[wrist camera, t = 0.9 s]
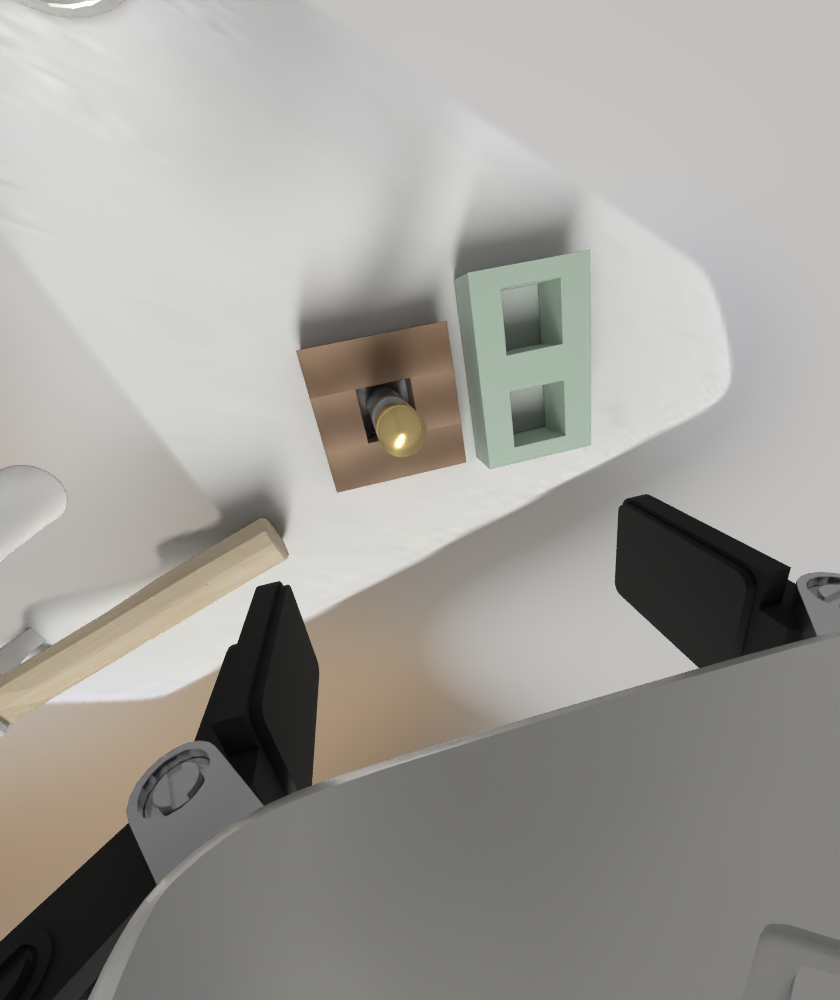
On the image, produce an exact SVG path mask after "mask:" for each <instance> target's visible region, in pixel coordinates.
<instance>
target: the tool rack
mask: <svg viewBox="0 0 840 1000" xmlns="http://www.w3.org/2000/svg"><path fill="white" fill-rule="evenodd" d="M454 284H455V291H456V299H457V307H458V315H459V323H460V330H461V338H462V346H463V354H464V362H465V370H466V377H467V385H468V393H469V401H470V409H471V416H472V424H473V432H474V440H475V448H476V455H477V458H478V459H479V460H480V461H482V462H483V463H484V464H485V465H486V466H487V467H488V468H489V469H493V468H497V467H501V466H505V465H510V464H514V463H518V462H522V461H526V460H531V459H535V458H539V457H543V456H547V455H552V454H556V453H560V452H564V451H568V450H573V449H577V448H581V447H585V446H589V445H591V358H590V250H586V251H581V252H575V253H570V254H565V255H559V256H554V257H549V258H543V259H538V260H533V261H527V262H522V263H517V264H511V265H506V266H501V267H495V268H490V269H485V270H479V271H474V272H469V273H466V274H464V275H462V276H460V277H459V278H457V279H455V280H454ZM533 284H538V293H539V313H540V332H541V344H536V345H531V346H527V347H522V348H517V349H512V350H508V351H506V344H505V332H504V320H503V309H502V297H501V291H502V290H508V289H513V288H518V287H523V286H528V285H533ZM540 385H543V389H544V408H545V427H543V428H538V429H534V430H530V431H525V432H521V433H517V434H513V425H512V413H511V401H510V392H513V391H518V390H522V389H527V388H531V387H536V386H540Z"/></svg>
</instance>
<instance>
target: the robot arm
mask: <svg viewBox="0 0 840 1000" xmlns="http://www.w3.org/2000/svg"><path fill="white" fill-rule="evenodd" d="M16 1H18V2H20V3H21V4H23V5H25V6H28V7H31V8H33V9H36V10H38V11H41V12H43V13H46V14H50V15H55V16H61V17H66V18H84V17H93V16H96V15H99V14H102V13H105V12H108V11H110V10H112V9H113V8H115V7H116V6H117V5H119V4H120V3H122V2H123V1H125V0H16ZM790 568H791V567H789V566H787V565H785V564H783V563H781V562H779V561H777V560H775V559H773V558H771V557H769V556H767V555H765V554H763V553H761V552H759V551H757V550H756V549H754V548H752V547H750V546H748V545H746V544H744V543H742V542H740V541H738V540H736V539H734V538H732V537H730V536H728V535H726V534H724V533H722V532H720V531H719V530H717V529H715V528H712V527H711V526H709V525H707V524H705V523H703V522H701V521H699V520H697V519H695V518H693V517H691V516H689V515H687V514H685V513H683V512H682V511H680V510H678V509H676V508H674V507H672V506H670V505H668V504H666V503H664V502H662V501H660V500H658V499H656V498H654V497H652V496H650V495H647V494H646V495H641V496H636V497H632V498H628V499H626V500H625V501H624V502H623V505H621V506H620V507H619V511H618V530H617V550H616V572H615V586H616V589H617V591H618V593H619V594H620V595H621V596H622V597H623V598H624V599H625V600H626V601H627V602H629V603H630V604H631V605H632V606H633V607H634V608H635V609H636V610H637V611H638V612H639V613H640V614H642V615H643V616H644V617H645V618H646V619H647V620H648V621H649V622H650V623H651V624H652V625H653V626H654V627H656V628H657V629H658V630H659V631H660V632H661V633H662V634H663V635H664V636H665V637H666V638H667V639H669V641H671V642H672V643H673V644H674V645H675V646H676V647H677V648H678V649H679V650H680V651H681V652H682V653H683V654H685V655H686V656H687V657H688V658H689V659H690V660H691V661H692V662H693V663H694V664H695V665H696V666H698V667H699V669H696V670H692V671H688V672H685V673H681V674H678V675H675V676H671V677H667V678H664V679H660V680H657V681H653V682H650V683H646V684H643V685H640V686H636V687H633V688H630V689H626V690H623V691H619V692H615V693H612V694H609V695H605V696H602V697H598V698H595V699H592V700H588V701H584V702H581V703H578V704H574V705H571V706H568V707H564V708H561V709H557V710H554V711H550V712H547V713H544V714H540V715H537V716H533V717H530V718H526V719H523V720H520V721H516V722H513V723H509V724H506V725H503V726H499V727H496V728H493V729H490V730H486V731H483V732H480V733H476V734H473V735H469V736H466V737H463V738H459V739H456V740H453V741H449V742H446V743H442V744H439V745H436V746H432V747H429V748H426V749H422V750H419V751H416V752H412V753H409V754H406V755H403V756H400V757H396V758H394V759H390V760H387V761H384V762H381V763H377V764H374V765H371V766H368V767H365V768H362V769H359V770H355V771H352V772H349V773H346V774H343V775H340V776H336V777H334V778H331V779H328V780H326V781H323V782H320V783H318V784H315V785H312V775H313V759H314V743H315V727H316V713H317V698H318V683H319V667H318V662H317V658H316V656H315V653H314V651H313V647H312V645H311V642H310V639H309V636H308V633H307V631H306V628H305V625H304V622H303V619H302V617H301V614H300V611H299V608H298V606H297V603H296V600H295V597H294V594H293V592H292V589H291V587H290V585H285V586H283V584H282V583H281V582H280V581H278V582H274V583H270V584H266V585H261V586H258V587H257V588H256V590H255V593H254V596H253V599H252V602H251V605H250V608H249V611H248V614H247V616H246V619H245V622H244V625H243V628H242V631H241V634H240V637H239V640H238V643H237V644H234V645H232V646H230V647H229V649H228V651H227V653H226V655H225V658H224V661H223V664H222V666H221V669H220V672H219V675H218V677H217V680H216V683H215V686H214V689H213V691H212V694H211V697H210V699H209V702H208V705H207V708H206V710H205V713H204V716H203V719H202V721H201V724H200V727H199V730H198V733H197V735H196V738H195V741H194V742H189V743H186V744H183V745H181V746H179V747H177V748H175V749H173V750H171V751H170V752H168V753H167V754H165V755H164V756H162V757H161V758H160V759H158V761H156V762H155V763H154V764H153V765H152V766H151V767H150V768H149V769H148V770H147V771H146V772H145V773H144V775H143V776H142V777H141V779H140V780H139V781H138V782H137V784H136V786H135V788H134V790H133V791H132V793H131V795H130V797H129V801H128V805H127V810H126V812H127V818H128V822H129V823H128V824H127V825H126V826H125V827H124V828H123V829H122V830H120V831H119V832H118V833H117V834H116V835H115V836H114V837H113V838H112V839H111V840H110V841H108V843H106V844H105V845H104V846H103V847H102V848H101V849H100V850H99V851H98V852H97V853H96V854H94V855H93V856H92V857H91V858H90V859H89V860H88V861H87V862H86V863H85V864H84V865H83V866H81V868H79V869H78V870H77V871H76V872H75V873H74V874H73V875H72V876H71V877H70V878H68V879H67V880H66V881H65V882H64V883H63V884H62V885H61V886H60V887H59V888H58V889H57V890H56V891H55V892H53V893H52V894H51V895H50V896H49V897H48V898H47V899H46V900H45V901H44V902H43V903H41V904H40V905H39V906H38V907H37V908H36V909H35V910H34V911H33V912H32V913H31V914H30V915H29V916H27V918H25V919H24V920H23V921H22V922H21V923H20V924H19V925H18V926H17V927H16V928H14V929H13V930H12V931H11V932H10V933H9V934H8V935H7V936H6V937H5V938H4V939H3V940H2V941H0V1000H840V574H836V573H826V572H817V573H808V574H805V575H803V576H801V577H800V578H799V579H798V580H797V582H796V584H795V583H793V582H791V581H789V580H788V576H789V572H790Z"/></svg>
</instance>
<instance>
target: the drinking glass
mask: <svg viewBox="0 0 840 1000" xmlns="http://www.w3.org/2000/svg"><path fill="white" fill-rule="evenodd" d="M67 503H68V498H67V493H66V490H65V488H64V487H63V485H62V484H61V482H60V481H59V480H58V479H56V477H54V476H53V475H51V474H50V473H48V472H47V471H44V470H42V469H40V468H37V467H33V466H26V465H15V466H10V467H6V468H3V469H0V562H1V561H3V560H4V559H5V558H7V557H8V556H9V555H10V554H11V553H13V552H14V551H15V550H16V549H18V548H19V547H20V546H21V545H23V544H24V543H25V542H26V541H28V540H29V539H30V538H31V537H33V536H34V535H35V534H37V533H38V532H39V531H40V530H41V529H43V528H44V527H46V526H47V525H49V524H50V523H52V522H53V521H55V520H57V519H58V518H59V517H60V516H61V515H62V514H63V513H64V511H65V510H66V507H67Z"/></svg>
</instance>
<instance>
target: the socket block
mask: <svg viewBox="0 0 840 1000" xmlns="http://www.w3.org/2000/svg"><path fill="white" fill-rule="evenodd" d="M296 352H297V356H298V359H299V363H300V366H301V369H302V373H303V376H304V380H305V383H306V387H307V390H308V394H309V397H310V401H311V404H312V408H313V411H314V414H315V418H316V421H317V425H318V428H319V432H320V435H321V439H322V442H323V446H324V449H325V452H326V456H327V459H328V463H329V466H330V470H331V473H332V477H333V480H334V484H335V487H336V491H337V492H342V491H346V490H350V489H355V488H359V487H363V486H367V485H372V484H376V483H380V482H384V481H389V480H393V479H397V478H401V477H406V476H410V475H414V474H418V473H423V472H427V471H431V470H436V469H440V468H444V467H448V466H453V465H457V464H461V463H465V462H466V456H465V449H464V442H463V435H462V427H461V420H460V413H459V406H458V399H457V392H456V385H455V377H454V370H453V363H452V356H451V349H450V342H449V335H448V327H447V321H443V322H437V323H432V324H427V325H422V326H417V327H412V328H407V329H402V330H397V331H392V332H387V333H382V334H377V335H372V336H367V337H362V338H357V339H352V340H347V341H341V342H336V343H331V344H326V345H321V346H316V347H311V348H306V349H301V350H297V351H296ZM403 379H405V381H406V387H407V392H408V397H409V403H410V406H411V407H412V408H413V409H414V410H415V411H416V412H417V413H418V414H419V415H420V416H421V417H422V418H423V420H424V421H425V424H426V427H427V437H426V441H425V443H424V445H423V446H422V448H421V449H420V450H419V451H418V452H417V453H415V454H413V455H411V456H408V457H396V456H393V455H391V454H389V453H388V452H386V451H385V450H384V449H383V448H382V446H381V444H380V442H379V439H378V436H377V434H376V433H371V434H367V435H366V432H365V428H364V424H363V419H362V415H361V411H360V407H359V403H358V399H357V395H356V390H355V389H360V388H365V387H370V386H374V385H379V384H384V383H388V382H393V381H398V380H403Z"/></svg>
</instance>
